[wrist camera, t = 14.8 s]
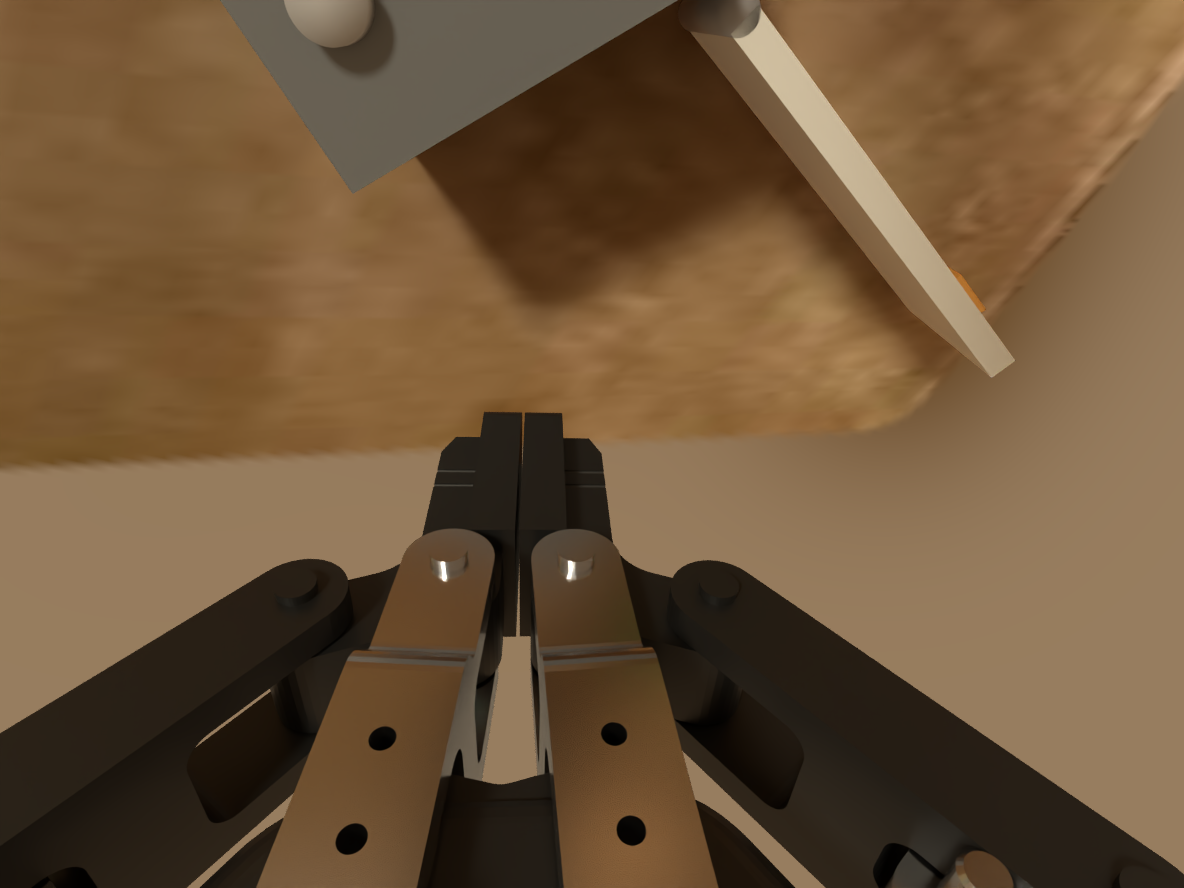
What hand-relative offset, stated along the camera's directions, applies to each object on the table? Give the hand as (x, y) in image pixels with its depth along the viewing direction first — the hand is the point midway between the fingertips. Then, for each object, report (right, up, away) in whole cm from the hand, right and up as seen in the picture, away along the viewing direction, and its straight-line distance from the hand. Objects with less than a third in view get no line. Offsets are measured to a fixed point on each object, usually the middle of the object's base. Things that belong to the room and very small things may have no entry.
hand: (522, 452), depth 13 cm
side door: (+11, +12, +15) cm, 22 cm away
